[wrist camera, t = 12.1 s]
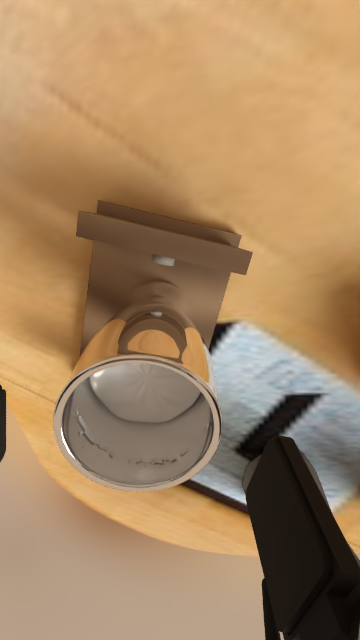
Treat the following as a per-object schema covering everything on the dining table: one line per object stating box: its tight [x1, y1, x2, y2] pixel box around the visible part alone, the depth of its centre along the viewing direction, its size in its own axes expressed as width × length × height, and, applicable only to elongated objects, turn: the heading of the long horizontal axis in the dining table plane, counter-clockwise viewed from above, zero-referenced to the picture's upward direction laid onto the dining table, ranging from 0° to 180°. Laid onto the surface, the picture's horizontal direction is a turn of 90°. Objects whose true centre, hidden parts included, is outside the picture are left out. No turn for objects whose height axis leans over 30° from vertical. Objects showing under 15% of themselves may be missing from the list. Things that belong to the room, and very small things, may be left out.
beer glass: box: [53, 281, 222, 492], centre depth 17 cm, size 7×7×15 cm
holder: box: [76, 200, 253, 357], centre depth 22 cm, size 17×12×7 cm
